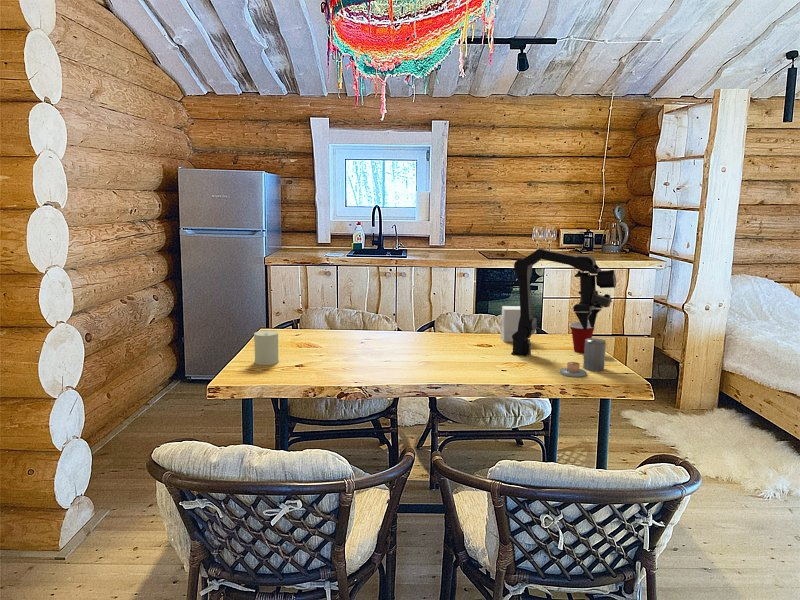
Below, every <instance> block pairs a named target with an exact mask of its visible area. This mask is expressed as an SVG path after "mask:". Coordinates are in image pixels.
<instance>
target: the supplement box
mask: <svg viewBox="0 0 800 600" xmlns="http://www.w3.org/2000/svg"><path fill="white" fill-rule="evenodd" d="M520 315H521V314H520V305H517V306H516V305H512V306H511V305H501V325H500V326H501V327H500V339H501V340H502V341H503V342H504V343H513V338H512V335H513V334H514V333H516V332H517V331H518V323H519V319H520Z"/></svg>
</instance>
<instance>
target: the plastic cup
mask: <svg viewBox="0 0 800 600" xmlns="http://www.w3.org/2000/svg"><path fill="white" fill-rule="evenodd" d="M568 326H569V328H570V330H571V335H572V336H571V337H572V344H573V345H572V346H573V351H574V353H580V354H584V348H585V339H588V338H593V335H594V331H595V328H596V326H597V325H596V323H595V325H594V327H591V326H590V323H589V321H588V326H587V330H584V329H583V327H582V325H581V323H580V321H573V322H571V323H568Z"/></svg>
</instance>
